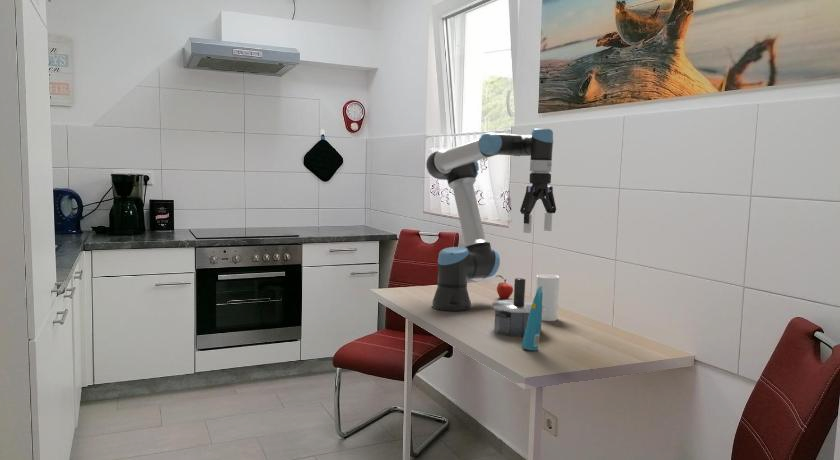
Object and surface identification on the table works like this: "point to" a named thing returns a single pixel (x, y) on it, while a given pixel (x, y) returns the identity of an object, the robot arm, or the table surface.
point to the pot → (511, 323)
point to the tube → (534, 323)
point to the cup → (549, 295)
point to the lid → (516, 300)
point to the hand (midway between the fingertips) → (537, 231)
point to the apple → (504, 289)
